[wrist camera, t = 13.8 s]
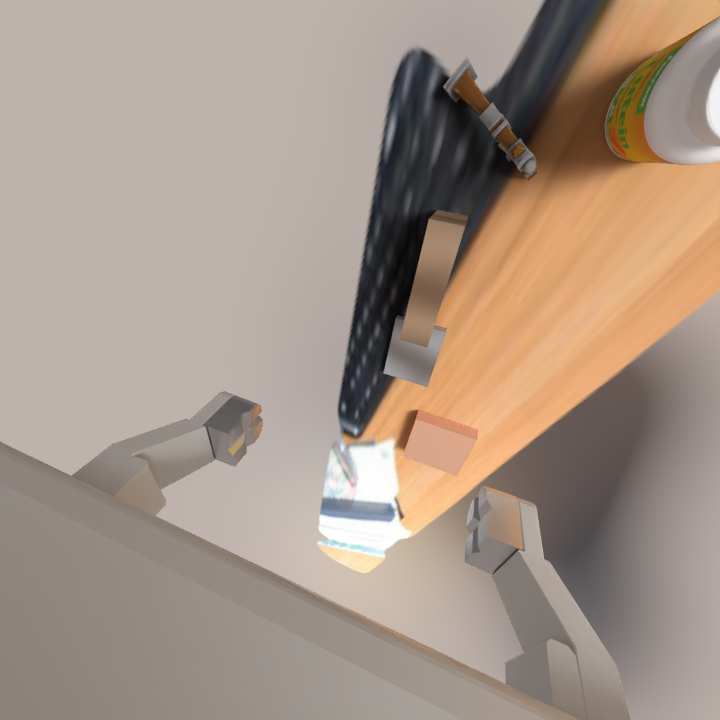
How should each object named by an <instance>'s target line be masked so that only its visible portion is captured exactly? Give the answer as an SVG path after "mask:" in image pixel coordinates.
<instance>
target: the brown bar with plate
mask: <svg viewBox="0 0 720 720" xmlns="http://www.w3.org/2000/svg"><path fill="white" fill-rule="evenodd" d="M467 219H468V216H466V215H461V214H456V213H451V212H446V211H441V210H437V211H436V212H435V213H434V214H433V215H432V216H431V217H430V218H429V221H428V225H427V229H426V233H425V237H424V242H423V246H422V250H421V254H420V258H419V262H418V266H417V270H416V274H415V279H414V283H413V287H412V291H411V295H410V299H409V303H408V307H407V311H406V316H405V317H402V316H399V315H397V317H396V320H395V324H394V329H393V333H392V338H391V342H390V347H389V351H388V356H387V360H386V365H385V369H384V373H385V374H388V375H391V376H394V377H397V378H401V379H404V380H407V381H410V382H413V383H416V384H420V385H423V386H426V387H427V386H428V383H429V380H430V377H431V374H432V371H433V368H434V365H435V363H436V360H437V357H438V354H439V351H440V348H441V345H442V342H443V339H444V336H445V334H446V330H447V329H446V328H443V327H439V326H435V321H436V318H437V315H438V312H439V309H440V305H441V302H442V299H443V296H444V293H445V289H446V286H447V283H448V280H449V277H450V273H451V270H452V267H453V264H454V261H455V257H456V254H457V251H458V248H459V245H460V241H461V238H462V235H463V232H464V229H465V225H466V222H467Z"/></svg>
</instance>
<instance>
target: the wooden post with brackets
mask: <svg viewBox="0 0 720 720" xmlns="http://www.w3.org/2000/svg"><path fill="white" fill-rule="evenodd" d="M476 78H477V75H476V73H475V71H474V69H473V67H472V65H471V63H470V62H469V60H468V58H467V57H466V58H465V59H464V61H463V62H462V63H461V64H460V66H459V67H458V68H457V70H456V71H455V72H454V73H453V75H452V76H451V77H450V79H449V80H448V81H447V82H446V84H445V85H444V86H443V87H444V89H445V90H446V92H447V93H448V94H449V96H450V97H451V99H453V100H454V101H455V102H457V101H458V100H459V99H461V100H463V101H464V102H465V103H466V104H468V105H469V106H470V107H471V108H472V109H473V110H474V111H475V112H476V113H477V114H478V115H479V116H480V117H479V118H480V120H481V122H482V123H483V124H484V125H485V126H486V127H487V128H488V130H489V131H490V133H491V135H492V136H493V137H494V139H495V140H496V141H497V143H498V142H499V144H498V146H499V148H500V149H502V150H503V151H504V152H505V153H506V154H507V155H506V158H507V159H508V161H509V162H510V161H511V160H513V162H514V163H515V164H516V166H517V168H518V169H519V171H520V172H522V174H523V175H524V176H525V177H526V178H527V179H528V180H529V179H530V178H532V177H533V176H534V175H535V174H536V173H537V172H536V170H537V169H536V161H535V160H536V159H535V157H534V155H533V153H531V152H530V151H529V149H528V148H527V147H526V146H525V144H524V143H523V142H522V140H521V138H520V139H519V140H518V139H517V138H516V136H515V135H514V134H513V132H512V131H511V129H512V128H511V126H510V124H509V122H508V121H507V119H505V118H504V116H503V115H502V114H501V113H500V112H499V111H498V110H497V109H496V107H495V106H494V104H493V102H492V103H491V104H490V103H489V102H488V101H487V99H486V98H485V97H484V95H483V94H482V92H481V91H480V89H479V88H478V86H477V85H476V83H475V82H474V80H475V79H476Z"/></svg>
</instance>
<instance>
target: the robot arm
mask: <svg viewBox="0 0 720 720" xmlns="http://www.w3.org/2000/svg"><path fill="white" fill-rule="evenodd" d="M261 412H262V410H261V405H259V404H256V403H254V402H251V401H249V400H246V399H243V398H241V397H238V396H236V395H233V394H231V393H228V392H221V393H219V394H218V395H217V396H216V397H215V398H214V399H212V400H211V401H210V402H209V403H208V404H207V405H206V406H205V407H203V408H202V409H201V410H200V411H199V412H198V413H197V414H196V415H195V416H193V418H191V419H190V420H189V419H184V420H181V421H178V422H176V423H172V424H170V425H166V426H164V427H161V428H158V429H155V430H152V431H149V432H146V433H144V434H140V435H137V436H135V437H132V438H129V439H126V440H123V441H120V442H117V443H114V444H112V445H111V446H109V447H108V448H107V449H105V450H104V451H103V452H101V453H100V454H99V455H98V456H97V457H95V458H94V459H92V460H91V461H90V462H89V463H87V464H86V465H85V466H83V467H82V468H81V469H80V470H79V471H77V472H76V473H75V474H73V475H72V476H71V475H68V474H66V473H64V472H62V471H60V470H58V469H56V468H54V467H52V466H50V465H48V464H45V463H43V462H41V461H39V460H37V459H35V458H33V457H31V456H29V455H27V454H24V453H22V452H20V451H18V450H16V449H14V448H12V447H10V446H8V445H6V444H4V443H2V442H0V720H630V717H629V713H628V709H627V706H626V702H625V697H624V693H623V689H622V685H621V682H620V677H619V674H618V670H617V666H616V664H615V663H614V661H613V660H612V658H611V657H610V655H609V654H608V652H607V650H606V649H605V647H604V646H603V644H602V643H601V641H600V639H599V638H598V636H597V635H596V633H595V632H594V630H593V629H592V627H591V626H590V624H589V622H588V621H587V619H586V618H585V616H584V615H583V613H582V612H581V610H580V609H579V607H578V605H577V604H576V603H575V601H574V599H573V598H572V596H571V595H570V593H569V592H568V590H567V589H566V587H565V585H564V584H563V582H562V581H561V579H560V577H559V576H558V574H557V573H556V571H555V570H554V568H553V567H552V565H551V564H550V562H549V561H546V560H544V556H543V549H542V543H541V536H540V529H539V523H538V516H537V508H536V506H535V504H533V503H531V502H528V501H525V500H522V499H520V498H516V497H515V496H512V495H510V494H507V493H504V492H501V491H498V490H495V489H492V488H489V487H486V486H483V487H482V488H481V490H480V491H479V498H475V499H474V500H473V502H472V503H471V506H470V508H469V512H468V517H467V528H468V530H469V532H470V536H469V537H468V538H467V540H466V551H465V562H466V563H468V564H470V565H472V566H475V567H477V568H479V569H481V570H484V571H486V572H488V573H491V574H493V575H492V577H493V579H494V582H495V584H496V586H497V589H498V591H499V594H500V596H501V598H502V601H503V603H504V606H505V608H506V611H507V613H508V615H509V617H510V620H511V623H512V625H513V627H514V630H515V632H516V635H517V637H518V639H519V642H520V644H521V646H522V649H523V651H524V652H523V653H521V654H520V655H518V656H516V657H514V658H512V659H510V660H508V661H507V662H506V663H505V664H506V665H505V668H506V684H505V683H503V682H501V681H498V680H496V679H494V678H492V677H490V676H488V675H486V674H484V673H482V672H480V671H478V670H475V669H474V668H471V667H469V666H467V665H465V664H463V663H461V662H459V661H457V660H455V659H453V658H450V657H448V656H446V655H444V654H442V653H440V652H438V651H436V650H434V649H431V648H430V647H427V646H425V645H423V644H421V643H419V642H417V641H415V640H413V639H411V638H409V637H407V636H405V635H403V634H400V633H398V632H396V631H394V630H392V629H390V628H388V627H386V626H384V625H382V624H379V623H377V622H375V621H373V620H371V619H369V618H367V617H365V616H363V615H361V614H359V613H356V612H354V611H352V610H350V609H348V608H346V607H344V606H342V605H340V604H338V603H336V602H334V601H331V600H329V599H327V598H325V597H323V596H321V595H319V594H317V593H315V592H313V591H311V590H308V589H307V588H304V587H302V586H300V585H298V584H296V583H294V582H292V581H290V580H288V579H286V578H284V577H281V576H279V575H277V574H275V573H273V572H271V571H269V570H267V569H265V568H263V567H261V566H258V565H256V564H254V563H252V562H250V561H248V560H246V559H244V558H242V557H240V556H238V555H236V554H233V553H231V552H229V551H227V550H225V549H223V548H221V547H219V546H217V545H215V544H212V543H210V542H208V541H206V540H204V539H202V538H200V537H198V536H196V535H194V534H192V533H190V532H188V531H185V530H183V529H181V528H179V527H177V526H175V525H173V524H171V523H169V522H167V521H164V520H162V519H160V518H158V517H156V515H157V514H158V512H159V511H160V510H161V509H162V508H163V507H164V506H165V505H166V500H165V498H164V496H163V494H162V492H161V489H163V488H164V487H166V486H168V485H170V484H172V483H174V482H176V481H177V480H179V479H181V478H183V477H185V476H187V475H188V474H190V473H192V472H194V471H196V470H198V469H200V468H201V467H203V466H205V465H207V464H209V463H211V462H213V461H214V460H215V459H216V460H219V461H221V462H224V463H227V464H229V465H232V466H236V465H237V464H238V462H239V461H240V460H241V459H242V457H243V456H244V455H245V454H246V450H247V448H246V447H247V446H249V445H251V444H253V443H254V442H255V441H256V440H257V439H258V437H259V435H260V433H261V431H262V426H263V420H262V418H261V417H260V416H259V414H260V413H261Z"/></svg>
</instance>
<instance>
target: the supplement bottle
mask: <svg viewBox="0 0 720 720" xmlns="http://www.w3.org/2000/svg"><path fill="white" fill-rule="evenodd" d="M605 137H606V141H607V144H608V146H609V147H610V149H611V150H612V152H613V153H614V154H616V155H617V156H618V157H620V158H622V159H624V160H628V161H633V162H646V163H664V164H679V165H700V164H708V163H713V162H717V161H720V17H718V18H716V19H715V20H713V21H711V22H710V23H708V24H706V25H705V26H703V27H701V28H699V29H698V30H696V31H694V32H693V33H691V34H689V35H687V36H686V37H684V38H682V39H680V40H679V41H677V42H675V43H673V44H672V45H670V46H668V47H666V48H665V49H663V50H661V51H660V52H658V53H656V54H655V55H653V56H652V57H651V58H649V59H648V60H646V61H645V62H644V63H643V64H641V65H640V66H639V67H638V68H637V69H636V70H634V71H633V72H632V73H631V75H630V76H629V77H628V78H627V79H626V80H625V81H624V83H623V84H622V85H621V87H620V88H619V89H618V91H617V93H616V94H615V96H614V98H613V100H612V102H611V104H610V106H609V109H608V112H607V116H606V120H605Z"/></svg>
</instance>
